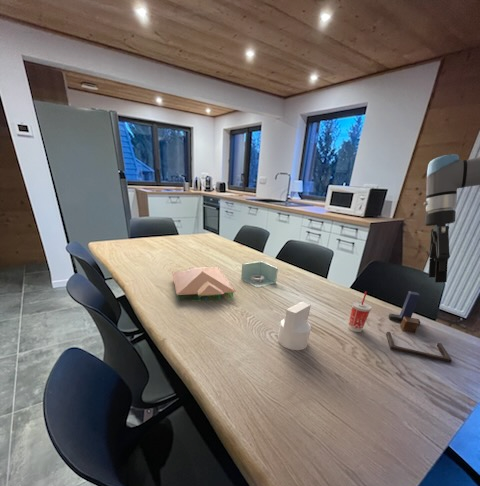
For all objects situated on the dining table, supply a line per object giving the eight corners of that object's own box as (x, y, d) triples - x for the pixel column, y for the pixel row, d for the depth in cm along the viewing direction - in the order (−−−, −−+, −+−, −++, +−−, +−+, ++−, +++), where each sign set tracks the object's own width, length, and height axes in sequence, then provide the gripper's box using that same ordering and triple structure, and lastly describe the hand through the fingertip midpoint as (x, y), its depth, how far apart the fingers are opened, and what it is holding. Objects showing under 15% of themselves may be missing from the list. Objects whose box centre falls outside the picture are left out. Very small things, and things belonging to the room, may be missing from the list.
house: (177, 305, 97) (177, 285, 94) (171, 275, 126) (171, 258, 122) (237, 302, 104) (238, 282, 101) (218, 273, 132) (219, 258, 129)
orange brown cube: (412, 328, 95) (416, 318, 93) (415, 333, 92) (419, 323, 90) (400, 325, 96) (403, 316, 94) (402, 331, 93) (406, 321, 91)
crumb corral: (439, 346, 85) (441, 343, 85) (450, 363, 77) (452, 360, 76) (386, 334, 90) (387, 331, 89) (390, 349, 81) (391, 346, 81)
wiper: (417, 322, 100) (428, 294, 95) (419, 325, 97) (431, 297, 92) (388, 316, 102) (398, 289, 97) (389, 319, 100) (399, 291, 95)
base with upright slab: (297, 353, 76) (304, 317, 71) (272, 340, 81) (277, 305, 76) (312, 342, 82) (320, 307, 77) (288, 330, 87) (294, 297, 82)
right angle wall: (241, 278, 128) (242, 263, 125) (259, 275, 135) (261, 261, 132) (256, 287, 120) (258, 271, 117) (275, 282, 127) (278, 268, 123)
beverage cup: (367, 330, 91) (379, 293, 85) (358, 335, 88) (370, 296, 82) (351, 322, 96) (362, 286, 90) (342, 326, 92) (352, 290, 86)
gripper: (421, 216, 94) (418, 275, 98) (431, 208, 73) (428, 285, 77) (447, 213, 91) (444, 275, 94) (466, 204, 69) (461, 284, 73)
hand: (436, 279), depth 86 cm, fingers open, 13 cm apart
